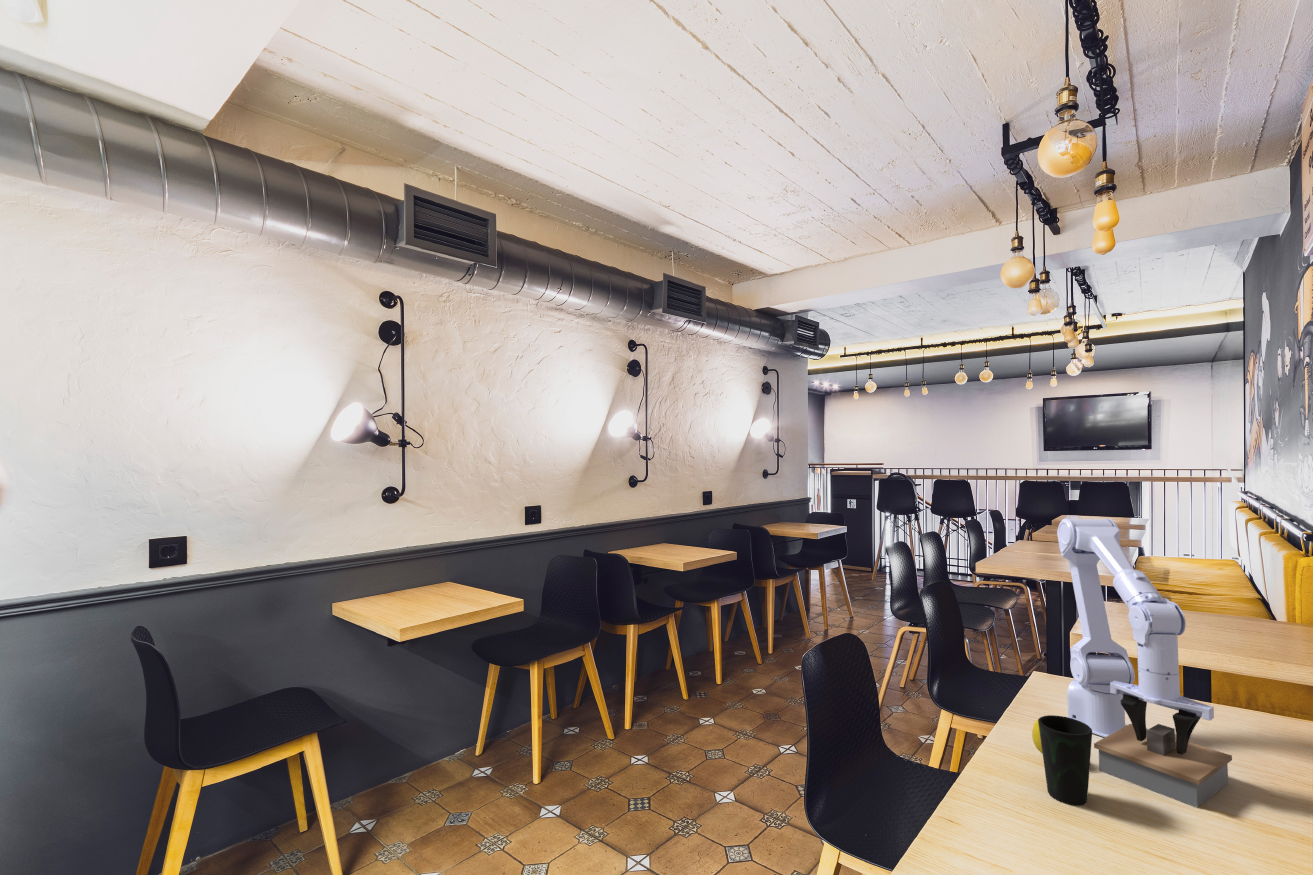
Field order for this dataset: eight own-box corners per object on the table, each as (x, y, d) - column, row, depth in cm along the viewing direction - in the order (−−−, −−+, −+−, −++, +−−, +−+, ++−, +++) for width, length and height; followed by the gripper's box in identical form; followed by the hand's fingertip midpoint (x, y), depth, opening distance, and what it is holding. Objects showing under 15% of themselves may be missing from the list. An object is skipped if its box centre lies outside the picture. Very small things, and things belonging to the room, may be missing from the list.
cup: (1085, 787, 105) (1083, 718, 105) (1102, 812, 98) (1099, 737, 98) (1035, 780, 107) (1032, 712, 108) (1047, 804, 100) (1044, 731, 100)
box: (1099, 770, 111) (1098, 748, 111) (1133, 750, 118) (1132, 729, 118) (1197, 807, 99) (1196, 782, 99) (1228, 782, 106) (1227, 759, 106)
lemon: (1073, 767, 112) (1071, 723, 112) (1040, 764, 113) (1038, 721, 113) (1059, 752, 117) (1058, 711, 117) (1028, 750, 118) (1026, 709, 118)
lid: (1094, 747, 111) (1093, 723, 111) (1130, 727, 119) (1129, 705, 119) (1199, 784, 98) (1197, 758, 98) (1232, 759, 106) (1231, 735, 106)
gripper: (1101, 662, 113) (1104, 735, 112) (1201, 686, 101) (1204, 769, 100) (1118, 655, 117) (1121, 726, 116) (1217, 678, 104) (1220, 757, 104)
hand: (1161, 745), depth 108 cm, fingers open, 5 cm apart
